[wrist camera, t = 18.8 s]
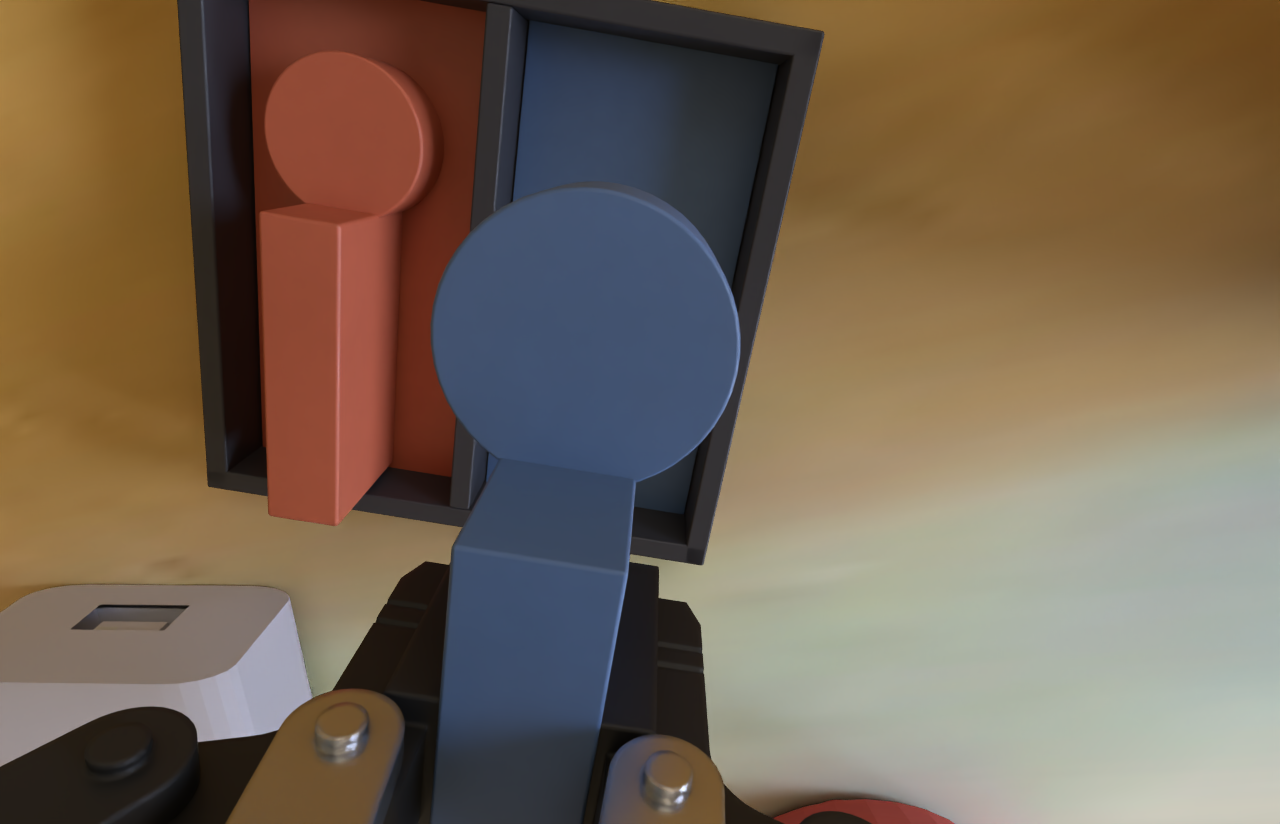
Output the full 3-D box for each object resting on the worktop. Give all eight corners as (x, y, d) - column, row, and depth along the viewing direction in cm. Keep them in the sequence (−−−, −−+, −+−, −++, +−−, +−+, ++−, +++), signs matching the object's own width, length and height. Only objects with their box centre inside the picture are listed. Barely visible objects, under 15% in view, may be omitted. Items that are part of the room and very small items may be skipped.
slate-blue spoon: (430, 774, 13) (338, 1017, 10) (477, 159, 10) (358, 161, 6) (628, 804, 13) (615, 1054, 10) (753, 206, 10) (810, 238, 6)
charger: (151, 883, 30) (39, 582, 25) (366, 888, 30) (300, 584, 24) (62, 1011, 26) (-98, 679, 20) (313, 1020, 25) (218, 683, 20)
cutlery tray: (236, -57, 18) (169, -87, 15) (804, 45, 18) (825, 31, 16) (254, 451, 23) (207, 487, 20) (699, 523, 23) (703, 566, 21)
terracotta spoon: (303, 447, 22) (227, 510, 18) (298, 46, 18) (200, 20, 14) (426, 467, 22) (377, 534, 18) (449, 72, 18) (391, 54, 14)
